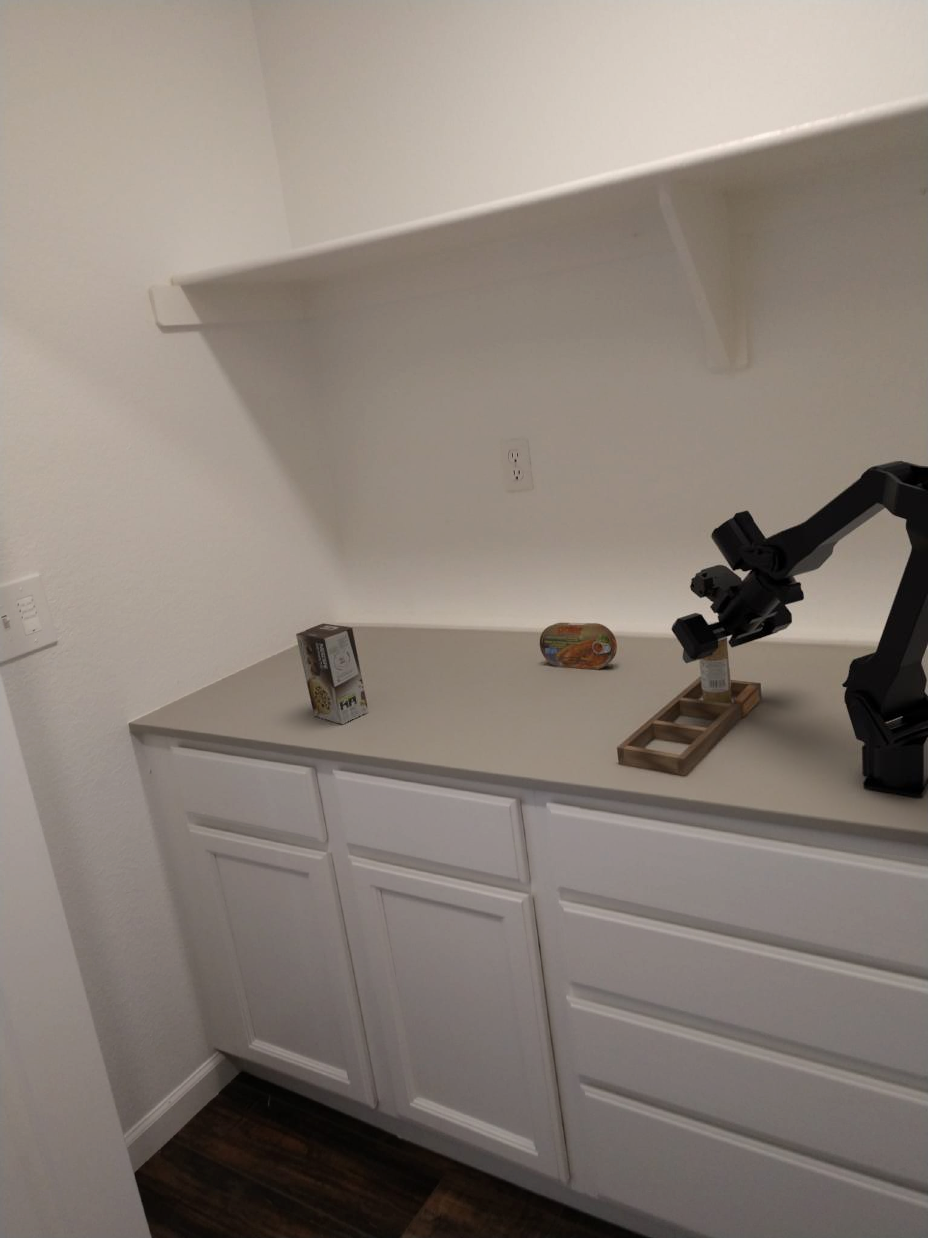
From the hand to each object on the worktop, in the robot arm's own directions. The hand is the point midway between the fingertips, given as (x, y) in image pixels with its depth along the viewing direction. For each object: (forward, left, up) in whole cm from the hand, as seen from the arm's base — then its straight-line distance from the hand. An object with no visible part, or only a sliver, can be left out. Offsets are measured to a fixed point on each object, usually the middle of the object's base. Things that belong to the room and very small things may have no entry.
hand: (708, 652), depth 132 cm
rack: (-1, +10, -9) cm, 13 cm away
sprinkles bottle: (-1, +1, -9) cm, 9 cm away
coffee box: (+60, +25, -9) cm, 65 cm away
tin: (+30, -9, -9) cm, 32 cm away
